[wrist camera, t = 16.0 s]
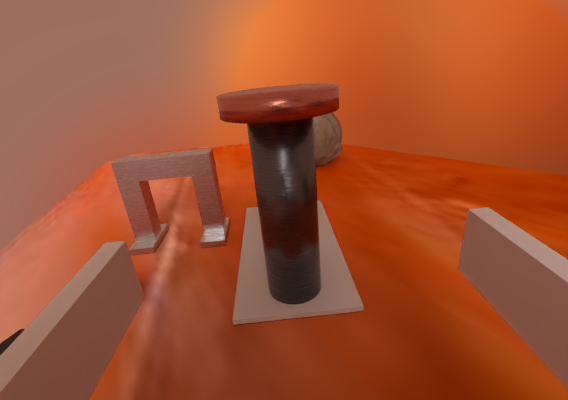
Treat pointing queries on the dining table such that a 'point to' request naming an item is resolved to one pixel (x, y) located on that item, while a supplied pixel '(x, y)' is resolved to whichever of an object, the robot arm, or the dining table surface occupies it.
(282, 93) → the hook
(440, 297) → the dining table surface
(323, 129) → the grey round lumpy ball
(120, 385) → the dining table surface
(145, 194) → the grey u-shaped bracket
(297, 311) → the pad
